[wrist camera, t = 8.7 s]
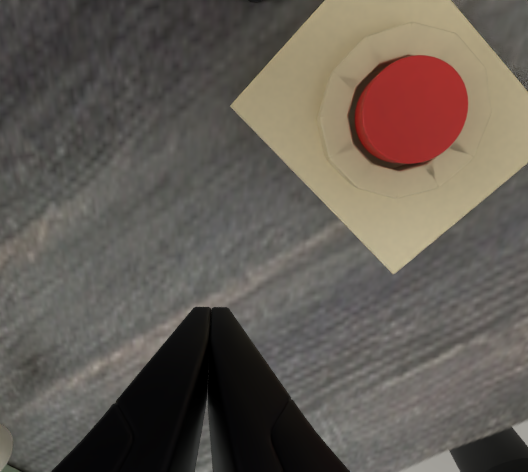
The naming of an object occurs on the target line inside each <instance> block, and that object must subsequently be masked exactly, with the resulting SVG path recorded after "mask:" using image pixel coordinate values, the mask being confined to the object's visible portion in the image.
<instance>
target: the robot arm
mask: <svg viewBox="0 0 528 472" xmlns="http://www.w3.org/2000/svg"><path fill="white" fill-rule="evenodd" d="M208 369H209V372H208ZM207 390H208V415H209V428H210V441H211V453H212V466H213V472H350V471H349V470H348V469H347V468H346V466H345V465H344V464H343V463H342V462H341V461H340V460H339V459H338V457H337V456H336V455H335V454H334V453H333V452H332V450H331V449H330V448H329V447H328V446H327V444H326V443H325V442H324V441H323V440H322V439H321V437H320V436H319V435H318V434H317V433H316V431H315V430H314V429H313V427H312V426H311V425H310V423H309V422H308V421H307V419H306V418H305V417H304V415H303V414H302V412H301V411H300V410H299V408H298V407H297V405H296V404H295V402H294V401H293V400H291V397H290V395H289V394H288V393H287V391H286V390H285V388H284V387H283V385H282V384H281V383H280V381H279V380H278V378H277V377H276V375H275V374H274V373H273V371H272V370H271V368H270V367H269V365H268V364H267V363H266V361H265V360H264V358H263V357H262V355H261V354H260V353H259V351H258V350H257V348H256V347H255V345H254V344H253V342H252V341H251V340H250V338H249V337H248V335H247V334H246V332H245V331H244V330H243V328H242V327H241V325H240V324H239V322H238V321H237V320H236V318H235V317H234V315H233V314H232V312H231V311H230V310H229V308H227V307H213V308H212V310H211V308H209V307H195V308H193V309H192V311H191V312H190V313H189V314H188V315H187V317H186V318H185V319H184V320H183V321H182V323H181V324H180V325H179V326H178V327H177V329H176V330H175V331H174V332H173V333H172V335H171V336H170V337H169V338H168V339H167V341H166V342H165V343H164V344H163V345H162V346H161V348H160V349H159V350H158V351H157V352H156V354H155V355H154V356H153V357H152V358H151V360H150V361H149V362H148V363H147V364H146V366H145V367H144V368H143V369H142V370H141V372H140V373H139V374H138V375H137V376H136V378H135V379H134V380H133V381H132V382H131V384H130V385H129V386H128V387H127V388H126V390H125V391H124V392H123V393H122V394H121V396H120V397H119V398H118V399H117V400H116V403H115V404H113V405H112V406H111V407H110V408H109V410H108V411H107V412H106V413H105V415H104V416H103V417H102V418H101V419H100V420H99V422H98V423H97V424H96V425H95V426H94V427H93V428H92V429H91V431H90V432H89V433H88V434H87V435H86V436H85V437H84V439H83V440H82V441H81V442H80V443H79V444H78V445H77V446H76V447H75V448H74V449H73V450H72V451H71V452H70V453H69V454H68V455H67V456H66V457H65V458H64V459H63V460H62V461H61V462H60V463H59V464H58V465H57V466H56V467H55V468H54V469H53V470H52V471H51V472H195V466H196V461H197V455H198V449H199V443H200V437H201V432H202V426H203V420H204V414H205V408H206V401H207Z"/></svg>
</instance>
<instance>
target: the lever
mask: <svg viewBox="0 0 528 472" xmlns="http://www.w3.org/2000/svg"><path fill="white" fill-rule="evenodd" d="M12 450H13V438H12V435H11V433H10V431H9V430H8V429H7V428H6V427H5V426H4V425H2V424H0V472H1V471H2V469H3V468H4V467H5V465H6V464H7V462H8V461H9V459H10V456H11V453H12Z"/></svg>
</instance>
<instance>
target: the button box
mask: <svg viewBox="0 0 528 472" xmlns="http://www.w3.org/2000/svg"><path fill="white" fill-rule="evenodd" d="M415 55H427V56H432V57H436V58H439V59H441V60H443V61H445V62H447V63H448V64H449V65H451V66H452V67H453V68H454V69H455V70H456V71H457V72H458V74H459V75H460V76H461V78H462V80H463V82H464V84H465V87H466V90H467V95H468V113H467V118H466V121H465V124H464V126H463V129H462V131H461V133H460V134H459V136H458V137H457V139H456V140H455V141H454V143H453V144H452V145H451V146H450V147H449V148H448V149H447V150H445V151H444V152H443V153H442V154H440V155H438V156H437V157H435V158H433V159H431V160H428V161H425V162H421V163H416V164H403V163H391V162H386V161H383V160H380V159H378V158H376V157H375V156H373V155H372V154H370V153H369V152H368V151H367V150H366V149H365V147H364V146H363V145H362V143H361V142H360V140H359V138H358V135H357V132H356V128H355V110H356V106H357V102H358V100H359V97H360V95H361V93H362V92H363V90H364V89H365V87H366V86H367V85H368V84H369V82H370V81H371V80H372V79H373V78H375V77H376V76H377V75H378V74H379V73H380V72H381V71H382V70H383V69H384V68H386V67H387V66H388V65H390V64H391V63H393V62H395V61H397V60H399V59H402V58H405V57H409V56H415ZM231 108H232V109H233V110H234V111H235V112H236V113H237V114H238V115H239V116H240V117H241V118H242V119H243V120H244V121H245V122H246V123H247V124H248V125H249V126H250V127H251V128H252V129H253V130H254V131H255V132H256V133H257V134H258V136H259V137H260V138H261V139H262V140H263V141H264V142H265V143H266V144H267V145H268V146H269V147H270V148H271V149H272V150H273V151H274V152H275V153H276V154H277V155H278V156H279V157H280V158H281V159H282V160H283V161H284V162H285V163H286V164H287V165H288V166H289V167H290V169H291V170H292V171H293V172H294V173H295V174H296V175H297V176H298V177H299V178H300V179H301V180H302V181H303V182H304V183H305V184H306V185H307V186H308V187H309V188H310V189H311V190H312V191H313V192H314V193H315V194H316V195H317V196H318V197H319V198H320V199H321V200H322V202H323V203H324V204H325V205H326V206H327V207H328V208H329V209H330V210H331V211H332V212H333V213H334V214H335V215H336V216H337V217H338V218H339V219H340V220H341V221H342V222H343V223H344V224H345V225H346V226H347V227H348V228H349V229H350V230H351V231H352V232H353V233H354V235H355V236H356V237H357V238H358V239H359V240H360V241H361V242H362V243H363V244H364V245H365V246H366V247H367V248H368V249H369V250H370V251H371V252H372V253H373V254H374V255H375V256H376V257H377V258H378V259H379V260H380V261H381V262H382V263H383V264H384V265H385V267H386V268H387V269H388V270H389V271H390V272H391V273H392V274H395V273H396V272H397V271H399V270H400V269H401V268H402V267H403V266H405V265H406V264H407V263H408V262H409V261H411V260H412V259H413V258H414V257H415V256H417V255H418V254H419V253H420V252H421V251H423V250H424V249H425V248H426V247H427V246H429V245H430V244H431V243H432V242H433V241H435V240H436V239H437V238H438V237H439V236H441V235H442V234H443V233H444V232H445V231H447V230H448V229H449V228H450V227H451V226H453V225H454V224H455V223H456V222H457V221H459V220H460V219H461V218H462V217H463V216H465V215H466V214H467V213H468V212H469V211H471V210H472V209H473V208H474V207H476V206H477V205H478V204H479V203H480V202H482V201H483V200H484V199H485V198H486V197H488V196H489V195H490V194H491V193H492V192H494V191H495V190H496V189H497V188H498V187H500V186H501V185H502V184H503V183H504V182H506V181H507V180H508V179H509V178H510V177H512V176H513V175H514V174H515V173H516V172H518V171H519V170H520V169H521V168H522V167H524V166H525V165H526V164H527V163H528V91H527V90H526V89H525V88H524V86H523V85H522V84H521V83H520V82H519V81H518V79H517V78H516V77H515V76H514V75H513V73H512V72H511V71H510V70H509V69H508V67H507V66H506V65H505V64H504V63H503V62H502V60H501V59H500V58H499V57H498V56H497V54H496V53H495V52H494V51H493V50H492V48H491V47H490V46H489V45H488V44H487V42H486V41H485V40H484V39H483V38H482V37H481V35H480V34H479V33H478V32H477V31H476V29H475V28H474V27H473V26H472V25H471V23H470V22H469V21H468V20H467V19H466V18H465V16H464V15H463V14H462V13H461V12H460V10H459V9H458V8H457V7H456V6H455V4H454V3H453V2H452V1H451V0H324V2H323V3H322V4H321V5H320V6H319V7H318V8H317V9H316V10H315V12H314V13H313V14H312V15H311V16H310V17H309V18H308V19H307V21H306V22H305V23H304V24H303V25H302V26H301V27H300V28H299V29H298V31H297V32H296V33H295V34H294V35H293V36H292V37H291V38H290V39H289V41H288V42H287V43H286V44H285V45H284V46H283V47H282V48H281V49H280V51H279V52H278V53H277V54H276V55H275V56H274V57H273V58H272V60H271V61H270V62H269V63H268V64H267V65H266V66H265V67H264V68H263V70H262V71H261V72H260V73H259V74H258V75H257V76H256V77H255V78H254V80H253V81H252V82H251V83H250V84H249V85H248V86H247V87H246V88H245V90H244V91H243V92H242V93H241V94H240V95H239V96H238V97H237V99H236V100H235V101H234V102H233V103H232V104H231Z"/></svg>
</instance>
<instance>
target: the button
mask: <svg viewBox="0 0 528 472" xmlns="http://www.w3.org/2000/svg"><path fill="white" fill-rule="evenodd" d="M467 113H468V95H467V90H466V87H465V84H464V82H463V80H462V78H461V76H460V75H459V74H458V72H457V71H456V70H455V69H454V68H453V67H452V66H451V65H449V64H448V63H447V62H445V61H443V60H441V59H439V58H436V57H432V56H427V55H415V56H409V57H405V58H402V59H399V60H397V61H395V62H393V63H391V64H390V65H388V66H387V67H386V68H384V69H383V70H382V71H381V72H380V73H379V74H378V75H377V76H376V77H375V78H373V79H372V80H371V81H370V82H369V84H368V85H367V86H366V87H365V89H364V90H363V92H362V93H361V95H360V97H359V100H358V102H357V106H356V110H355V128H356V132H357V135H358V138H359V140H360V142H361V143H362V145H363V146H364V147H365V149H366V150H367V151H368V152H369V153H370V154H372V155H373V156H375V157H376V158H378V159H380V160H383V161H386V162H391V163H403V164H416V163H421V162H425V161H428V160H431V159H433V158H435V157H437V156H438V155H440V154H442V153H443V152H444V151H445V150H447V149H448V148H449V147H450V146H451V145H452V144H453V143H454V141H455V140H456V139H457V137H458V136H459V134H460V133H461V131H462V129H463V126H464V124H465V121H466V118H467Z"/></svg>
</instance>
